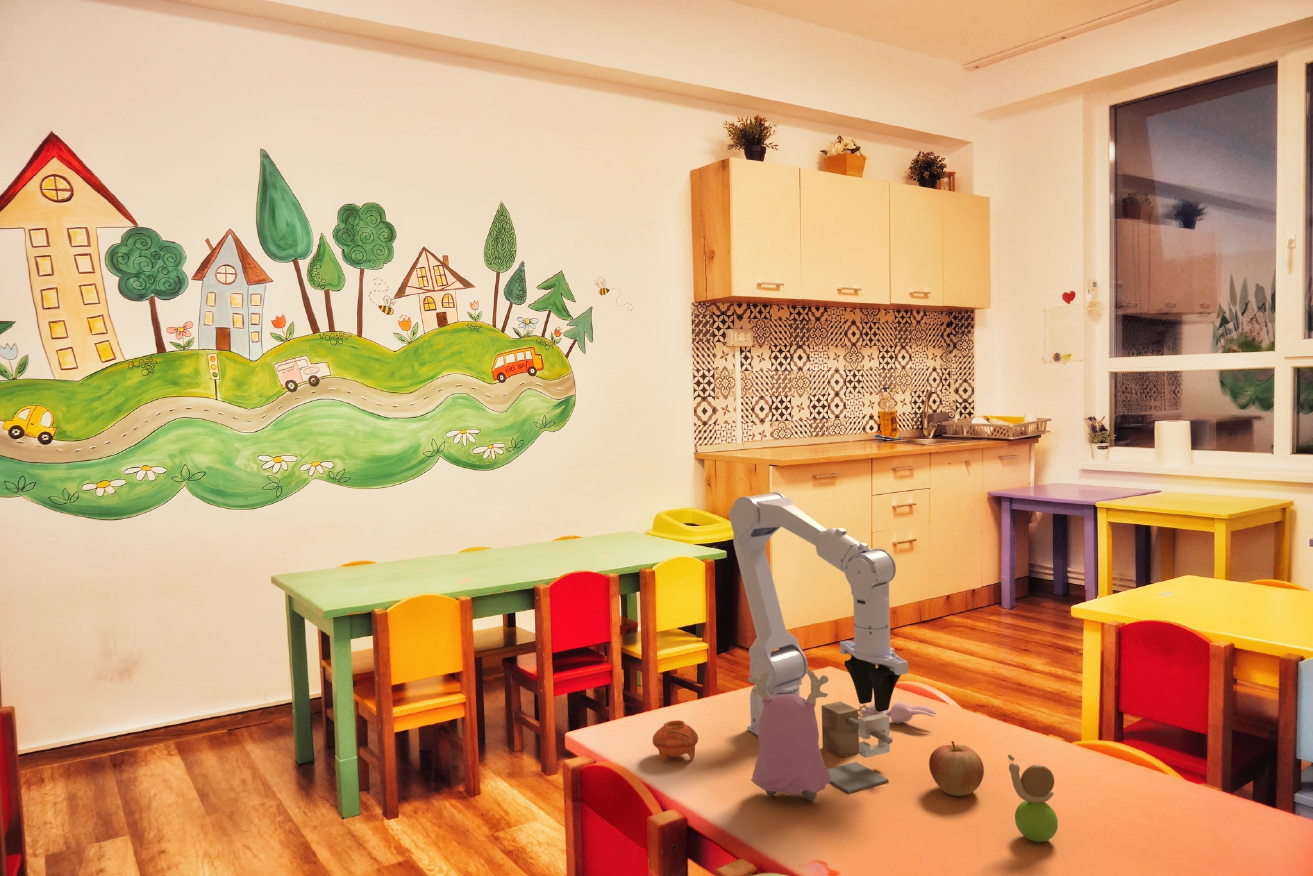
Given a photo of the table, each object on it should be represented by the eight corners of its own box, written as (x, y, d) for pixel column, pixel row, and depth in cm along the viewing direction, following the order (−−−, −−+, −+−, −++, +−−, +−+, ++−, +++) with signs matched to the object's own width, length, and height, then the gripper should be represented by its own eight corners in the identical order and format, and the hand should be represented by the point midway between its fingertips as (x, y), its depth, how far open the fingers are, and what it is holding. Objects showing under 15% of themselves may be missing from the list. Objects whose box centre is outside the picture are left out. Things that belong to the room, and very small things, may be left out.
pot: (678, 770, 148) (669, 729, 148) (648, 768, 153) (640, 729, 154) (712, 755, 153) (703, 715, 154) (682, 753, 159) (674, 715, 160)
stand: (822, 747, 156) (821, 705, 156) (840, 742, 158) (839, 701, 157) (882, 780, 142) (881, 734, 142) (901, 775, 144) (900, 729, 143)
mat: (817, 774, 145) (817, 772, 145) (856, 764, 149) (856, 761, 149) (848, 793, 138) (848, 790, 138) (888, 781, 141) (888, 779, 141)
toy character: (835, 787, 140) (832, 662, 139) (825, 817, 130) (822, 682, 130) (759, 778, 144) (756, 657, 143) (745, 807, 134) (741, 676, 134)
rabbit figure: (853, 728, 168) (931, 729, 160) (847, 697, 168) (925, 696, 160) (865, 718, 173) (941, 718, 165) (859, 687, 174) (935, 686, 165)
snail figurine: (1001, 832, 124) (999, 747, 124) (1045, 828, 125) (1043, 744, 124) (1020, 851, 119) (1018, 763, 118) (1066, 848, 119) (1064, 760, 119)
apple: (927, 799, 135) (926, 748, 135) (931, 778, 142) (930, 729, 142) (983, 807, 132) (982, 754, 132) (984, 784, 139) (984, 734, 139)
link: (859, 754, 146) (858, 718, 146) (883, 748, 148) (882, 713, 148) (865, 757, 145) (865, 721, 144) (889, 752, 147) (889, 716, 147)
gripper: (922, 630, 141) (923, 715, 141) (862, 612, 154) (864, 689, 154) (887, 637, 138) (889, 723, 138) (829, 618, 151) (831, 697, 151)
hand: (873, 706), depth 146 cm, fingers open, 4 cm apart
